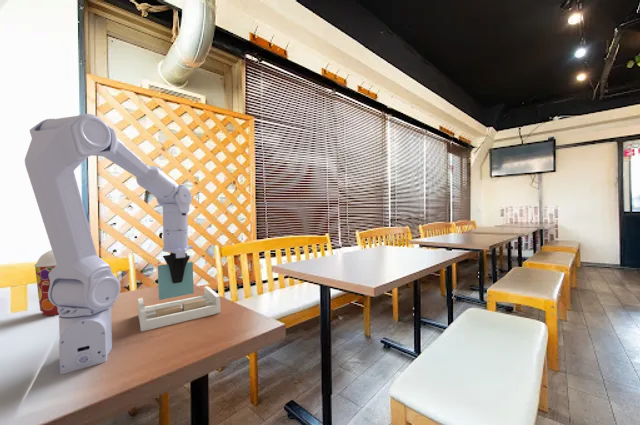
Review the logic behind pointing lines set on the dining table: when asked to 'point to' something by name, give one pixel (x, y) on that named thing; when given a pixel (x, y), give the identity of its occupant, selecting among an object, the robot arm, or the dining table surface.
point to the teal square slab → (176, 289)
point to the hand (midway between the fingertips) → (176, 281)
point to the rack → (151, 321)
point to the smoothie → (45, 282)
